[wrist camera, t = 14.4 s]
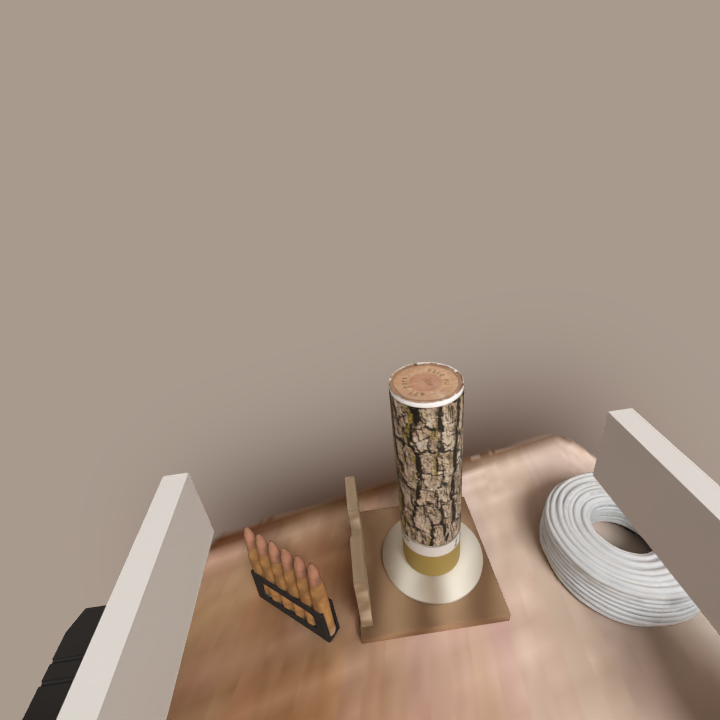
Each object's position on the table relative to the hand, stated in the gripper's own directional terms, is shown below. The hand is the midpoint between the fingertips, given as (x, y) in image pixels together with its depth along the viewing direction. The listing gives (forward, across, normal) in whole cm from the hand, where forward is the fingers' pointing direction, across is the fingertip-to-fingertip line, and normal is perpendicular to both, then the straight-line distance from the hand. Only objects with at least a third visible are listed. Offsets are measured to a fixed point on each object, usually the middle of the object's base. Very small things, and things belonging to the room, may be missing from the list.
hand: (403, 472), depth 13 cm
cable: (+19, +28, -38) cm, 51 cm away
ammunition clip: (+18, -11, -38) cm, 44 cm away
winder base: (+22, +4, -38) cm, 44 cm away
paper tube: (+22, +6, -36) cm, 43 cm away
